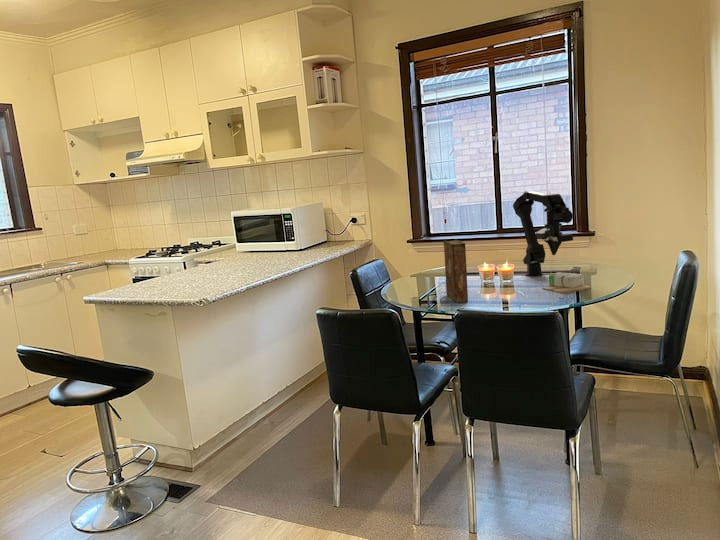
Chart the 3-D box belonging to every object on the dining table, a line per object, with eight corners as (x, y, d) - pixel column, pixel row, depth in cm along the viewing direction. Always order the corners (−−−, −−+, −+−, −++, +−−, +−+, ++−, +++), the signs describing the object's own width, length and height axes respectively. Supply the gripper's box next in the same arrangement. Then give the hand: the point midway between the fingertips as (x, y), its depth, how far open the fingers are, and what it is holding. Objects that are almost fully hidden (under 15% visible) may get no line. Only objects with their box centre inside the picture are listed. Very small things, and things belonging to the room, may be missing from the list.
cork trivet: (542, 288, 239) (542, 287, 239) (567, 283, 245) (567, 282, 245) (564, 293, 228) (564, 292, 227) (590, 288, 234) (590, 286, 233)
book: (468, 302, 227) (466, 243, 222) (456, 303, 226) (453, 244, 222) (458, 294, 243) (455, 239, 238) (446, 295, 242) (443, 240, 238)
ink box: (548, 285, 241) (573, 288, 232) (548, 275, 241) (573, 277, 232) (558, 282, 247) (583, 284, 238) (558, 271, 246) (583, 273, 237)
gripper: (525, 222, 253) (526, 255, 256) (554, 224, 236) (555, 259, 239) (544, 219, 258) (544, 252, 260) (573, 221, 241) (574, 256, 243)
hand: (553, 255), depth 251 cm, fingers closed
